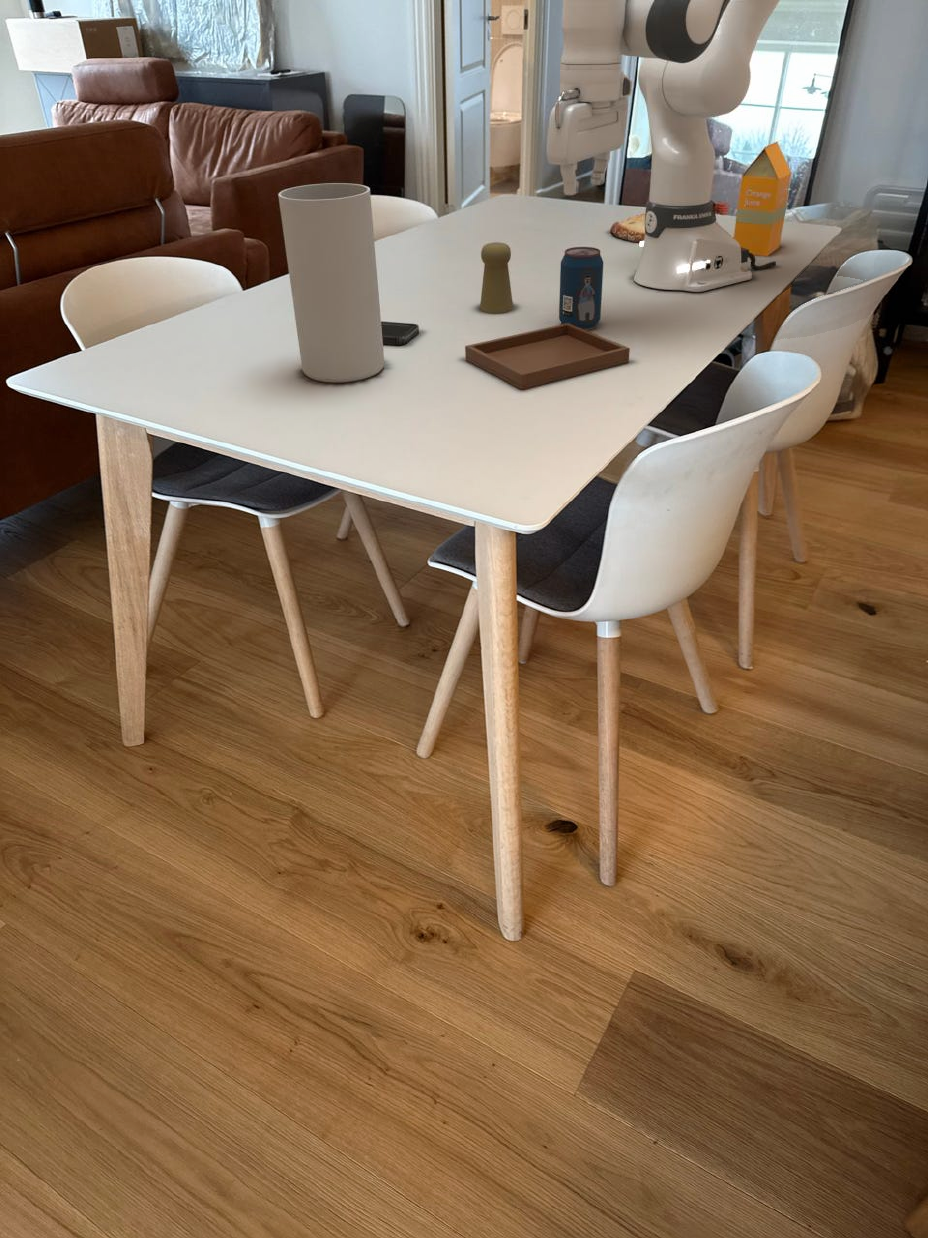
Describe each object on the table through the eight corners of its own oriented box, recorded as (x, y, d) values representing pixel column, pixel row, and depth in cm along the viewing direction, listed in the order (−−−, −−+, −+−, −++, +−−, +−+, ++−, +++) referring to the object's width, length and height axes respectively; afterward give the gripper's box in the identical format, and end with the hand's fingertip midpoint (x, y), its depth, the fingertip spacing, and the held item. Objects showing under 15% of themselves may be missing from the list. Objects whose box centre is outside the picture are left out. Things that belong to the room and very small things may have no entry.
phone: (403, 338, 145) (319, 331, 150) (403, 345, 146) (320, 338, 150) (420, 324, 152) (340, 317, 156) (421, 330, 152) (340, 324, 156)
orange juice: (780, 246, 193) (797, 141, 181) (767, 256, 187) (784, 147, 175) (744, 243, 196) (758, 139, 185) (730, 252, 190) (744, 145, 179)
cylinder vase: (351, 389, 131) (331, 203, 117) (285, 375, 136) (259, 196, 122) (400, 363, 139) (388, 186, 125) (337, 351, 145) (318, 180, 131)
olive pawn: (510, 313, 159) (510, 247, 153) (476, 312, 160) (475, 247, 154) (515, 303, 164) (515, 239, 158) (483, 302, 165) (481, 238, 159)
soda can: (576, 316, 156) (579, 243, 149) (608, 324, 152) (613, 249, 145) (550, 326, 152) (552, 251, 146) (582, 334, 148) (585, 258, 141)
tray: (567, 336, 148) (568, 322, 147) (628, 362, 137) (629, 347, 136) (465, 359, 140) (464, 345, 139) (521, 389, 129) (521, 374, 128)
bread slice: (700, 244, 196) (702, 226, 194) (617, 247, 197) (618, 228, 194) (685, 226, 211) (687, 209, 209) (607, 229, 211) (608, 211, 209)
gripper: (577, 92, 124) (572, 202, 132) (637, 81, 138) (629, 180, 146) (537, 91, 126) (534, 198, 134) (599, 80, 141) (593, 177, 149)
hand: (584, 189), depth 140 cm, fingers open, 8 cm apart
